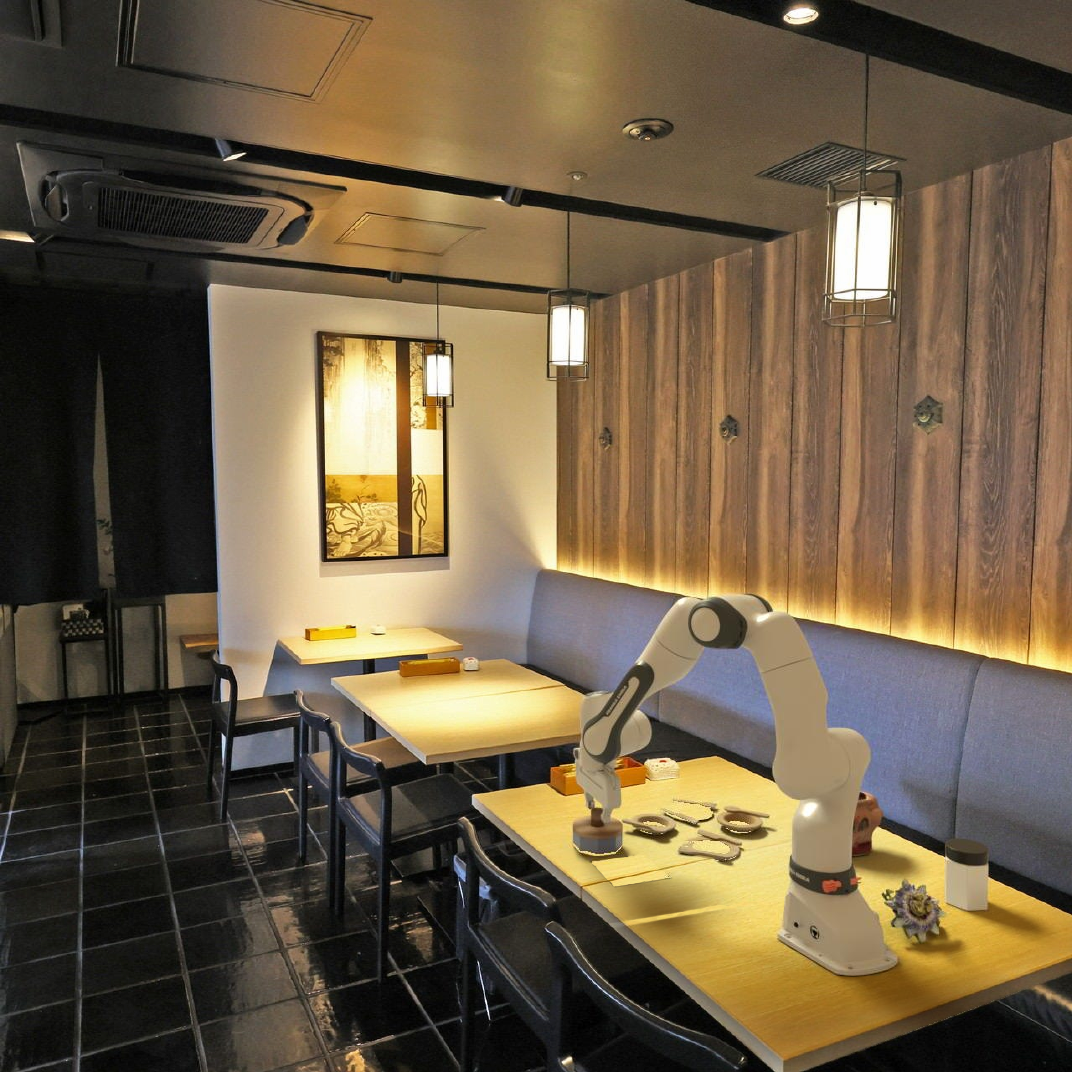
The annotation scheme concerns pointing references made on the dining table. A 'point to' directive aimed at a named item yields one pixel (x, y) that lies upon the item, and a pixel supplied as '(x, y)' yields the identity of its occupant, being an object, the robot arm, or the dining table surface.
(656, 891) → the dining table surface
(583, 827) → the lid
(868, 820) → the decorative planter
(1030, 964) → the dining table surface
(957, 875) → the jar
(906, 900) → the passion flower
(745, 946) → the dining table surface
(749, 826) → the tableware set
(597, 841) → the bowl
